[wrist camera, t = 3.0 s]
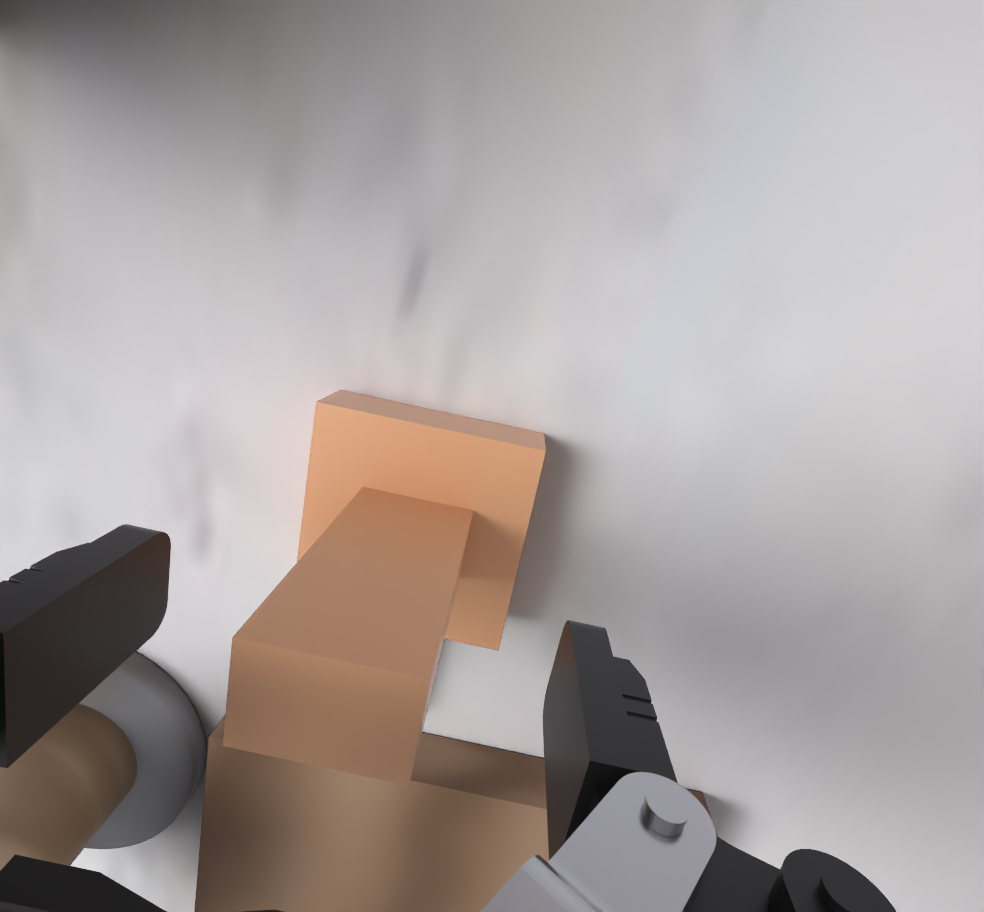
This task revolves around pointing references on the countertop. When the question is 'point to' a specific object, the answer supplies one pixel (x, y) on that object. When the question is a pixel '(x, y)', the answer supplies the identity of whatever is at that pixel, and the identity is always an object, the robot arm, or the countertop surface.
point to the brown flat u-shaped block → (368, 831)
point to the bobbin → (104, 770)
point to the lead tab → (382, 583)
